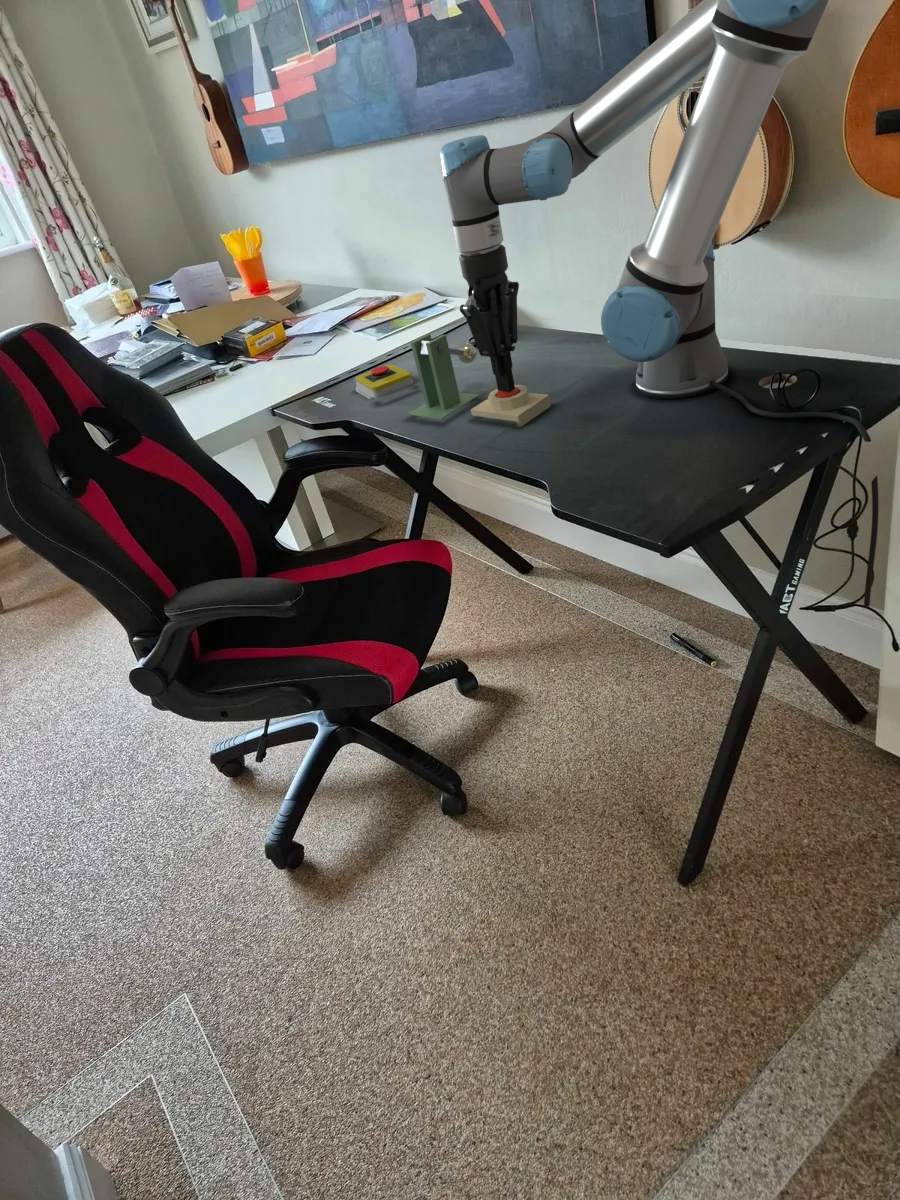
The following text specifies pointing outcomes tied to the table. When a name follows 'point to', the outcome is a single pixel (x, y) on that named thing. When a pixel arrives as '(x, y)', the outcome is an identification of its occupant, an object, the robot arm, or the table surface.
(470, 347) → the lever switch
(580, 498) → the table surface
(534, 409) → the button console
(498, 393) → the button
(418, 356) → the switch bracket
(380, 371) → the emergency button
